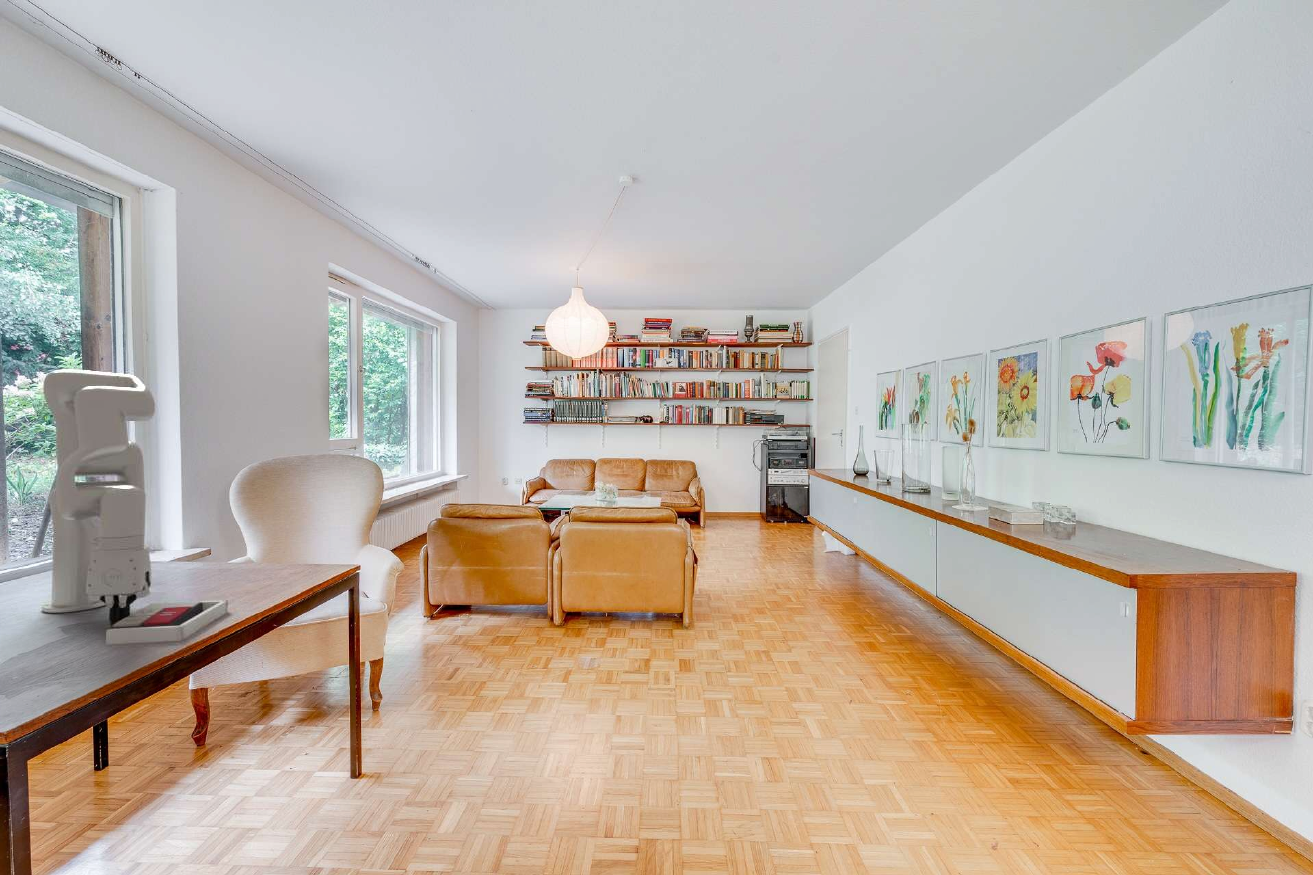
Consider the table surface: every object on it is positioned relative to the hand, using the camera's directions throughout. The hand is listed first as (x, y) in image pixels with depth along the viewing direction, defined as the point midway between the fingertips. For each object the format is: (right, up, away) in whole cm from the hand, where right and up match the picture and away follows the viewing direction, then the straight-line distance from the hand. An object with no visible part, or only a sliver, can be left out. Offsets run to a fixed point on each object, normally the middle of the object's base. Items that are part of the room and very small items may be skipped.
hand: (119, 623), depth 126 cm
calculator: (+7, -2, +3) cm, 8 cm away
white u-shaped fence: (+9, -2, +2) cm, 10 cm away
